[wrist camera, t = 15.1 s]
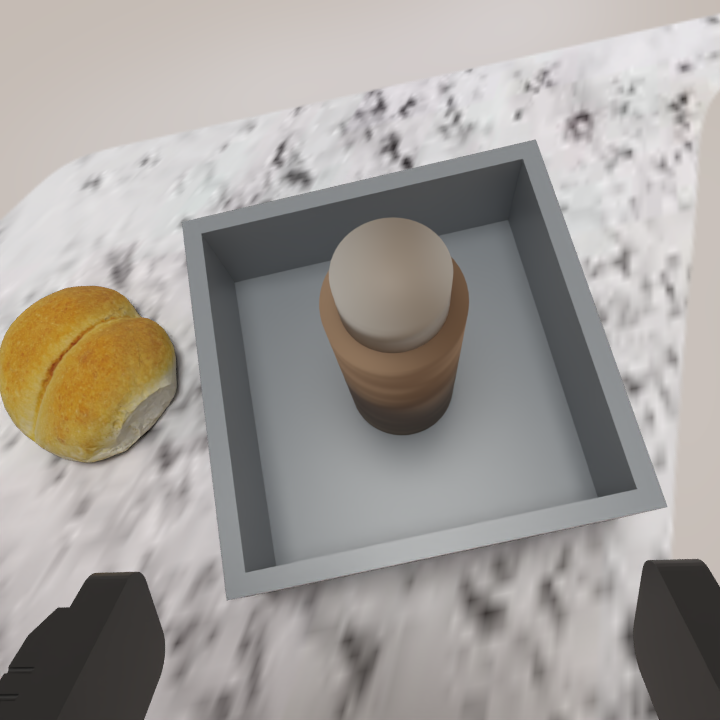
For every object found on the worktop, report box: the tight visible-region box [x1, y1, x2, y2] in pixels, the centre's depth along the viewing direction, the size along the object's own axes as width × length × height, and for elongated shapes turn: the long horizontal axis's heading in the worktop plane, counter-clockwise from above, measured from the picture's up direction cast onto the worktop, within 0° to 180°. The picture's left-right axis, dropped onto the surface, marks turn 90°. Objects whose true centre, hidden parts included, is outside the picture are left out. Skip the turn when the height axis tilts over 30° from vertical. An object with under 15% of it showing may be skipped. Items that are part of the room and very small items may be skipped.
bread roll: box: [0, 286, 177, 463], centre depth 30 cm, size 8×9×4 cm
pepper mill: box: [319, 217, 469, 435], centre depth 23 cm, size 5×5×12 cm
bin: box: [182, 140, 667, 600], centre depth 27 cm, size 16×16×6 cm
